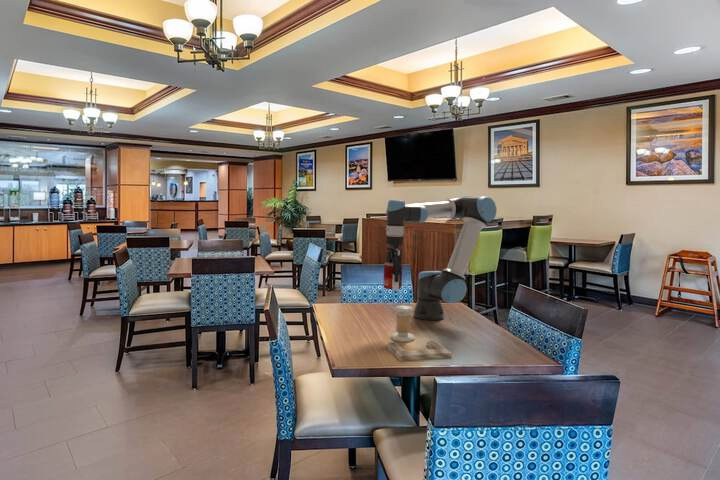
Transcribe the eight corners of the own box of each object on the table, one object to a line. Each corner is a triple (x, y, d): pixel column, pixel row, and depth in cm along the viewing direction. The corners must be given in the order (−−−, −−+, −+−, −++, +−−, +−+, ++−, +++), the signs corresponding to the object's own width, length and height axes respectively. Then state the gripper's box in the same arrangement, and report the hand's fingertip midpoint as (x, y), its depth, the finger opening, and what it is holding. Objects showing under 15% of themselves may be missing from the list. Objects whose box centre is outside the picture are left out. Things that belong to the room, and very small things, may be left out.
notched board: (434, 344, 181) (435, 340, 180) (451, 357, 166) (451, 352, 166) (387, 347, 176) (387, 342, 175) (400, 360, 161) (400, 355, 161)
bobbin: (409, 334, 194) (410, 304, 193) (418, 341, 185) (419, 310, 184) (387, 335, 192) (388, 305, 191) (395, 342, 182) (396, 311, 181)
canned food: (400, 290, 192) (401, 264, 191) (381, 288, 193) (382, 263, 192) (402, 287, 199) (403, 262, 198) (384, 285, 201) (385, 261, 200)
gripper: (379, 233, 204) (377, 283, 205) (393, 237, 184) (391, 292, 185) (395, 234, 205) (393, 283, 207) (411, 237, 185) (408, 292, 187)
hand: (392, 287), depth 196 cm, fingers closed on canned food, 8 cm apart
